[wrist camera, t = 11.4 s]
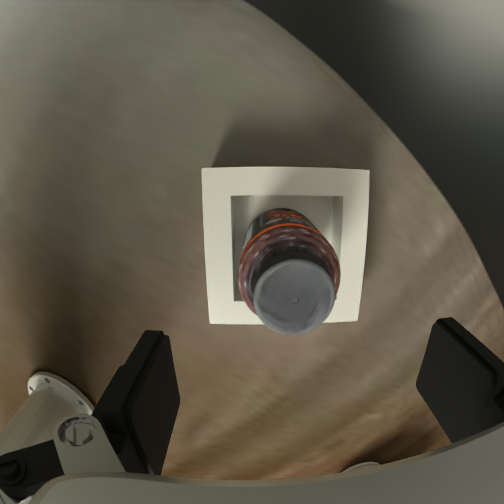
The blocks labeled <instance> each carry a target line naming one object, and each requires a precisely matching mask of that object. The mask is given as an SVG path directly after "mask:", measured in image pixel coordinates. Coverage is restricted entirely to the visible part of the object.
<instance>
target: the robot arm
mask: <svg viewBox="0 0 504 504" xmlns="http://www.w3.org/2000/svg"><path fill="white" fill-rule="evenodd" d="M416 387H417V390H418V391H419V393H420V394H421V396H422V397H423V399H424V400H425V402H426V403H427V405H428V407H429V408H430V410H431V411H432V413H433V414H434V416H435V417H436V419H437V420H438V422H439V423H440V425H441V427H442V428H443V430H444V431H445V433H446V434H447V436H448V438H449V439H450V441H451V442H452V444H450V445H447V446H444V447H441V448H438V449H435V450H432V451H429V452H426V453H423V454H420V455H416V456H413V457H409V458H406V459H402V460H398V461H395V462H391V463H386V464H382V465H378V466H373V467H369V468H364V469H358V470H353V471H347V472H341V473H335V474H328V475H320V476H312V477H302V478H290V479H273V480H211V479H194V478H182V477H172V476H160V475H161V472H162V468H163V464H164V460H165V456H166V453H167V449H168V445H169V442H170V438H171V434H172V430H173V427H174V423H175V420H176V416H177V412H178V409H179V405H180V395H179V390H178V385H177V380H176V374H175V369H174V363H173V357H172V351H171V345H170V339H169V336H168V335H164V333H163V331H154V330H145V332H144V333H143V335H142V336H141V338H140V340H139V341H138V343H137V344H136V346H135V348H134V349H133V351H132V353H131V354H130V356H129V358H128V359H127V361H126V363H125V364H124V365H122V366H120V367H119V368H118V370H117V372H116V373H115V375H114V376H113V378H112V380H111V381H110V383H109V385H108V386H107V388H106V390H105V391H104V393H103V395H102V397H101V398H100V400H99V402H98V403H97V405H96V407H94V406H93V404H92V403H91V402H90V401H89V399H88V398H87V397H86V396H85V395H84V394H83V393H82V392H81V391H80V390H78V389H77V388H76V387H75V386H74V385H72V384H71V383H69V382H68V381H66V380H65V379H63V378H61V377H59V376H57V375H55V374H52V373H49V372H42V371H41V372H36V373H35V374H33V375H32V377H31V378H30V379H29V381H28V391H29V395H30V396H29V397H28V398H27V399H26V400H25V402H24V403H23V404H22V405H21V407H20V408H19V409H18V410H17V411H16V413H15V414H14V415H13V416H12V418H11V419H10V420H9V422H8V423H7V424H6V425H5V427H4V428H3V429H2V431H1V432H0V504H504V362H502V361H501V360H500V359H499V358H498V357H497V356H496V355H495V354H494V353H493V352H491V351H490V350H489V349H488V348H487V347H486V346H485V345H484V344H483V343H481V342H480V341H479V340H478V339H477V338H476V337H475V336H473V335H472V334H471V333H470V332H469V331H468V330H466V329H465V328H464V327H463V326H462V325H461V324H459V323H458V322H457V321H456V320H455V319H453V318H452V317H448V318H441V319H438V320H437V321H436V323H435V324H433V326H432V329H431V333H430V337H429V341H428V345H427V348H426V352H425V355H424V359H423V362H422V365H421V368H420V372H419V375H418V378H417V381H416Z"/></svg>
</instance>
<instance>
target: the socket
mask: <svg viewBox="0 0 504 504" xmlns="http://www.w3.org/2000/svg"><path fill="white" fill-rule="evenodd" d="M369 176H370V170H360V169H342V168H318V167H220V168H202V200H203V225H204V245H205V263H206V279H207V294H208V308H209V320H210V324H264V323H263V322H262V321H261V320H260V318H259V317H258V316H257V315H255V314H254V313H253V312H252V311H251V310H250V309H249V308H248V306H247V305H246V304H245V302H244V300H243V298H242V296H241V294H240V290H239V286H238V266H239V261H240V257H241V253H242V248H243V244H244V239H245V235H246V233H247V230H248V228H249V226H250V225H251V223H252V222H253V221H254V220H255V218H257V217H258V216H259V215H260V214H262V213H264V212H266V211H268V210H271V209H276V208H288V209H292V210H295V211H297V212H299V213H301V214H303V215H304V216H305V217H307V218H308V219H309V220H310V221H311V222H312V223H313V225H314V226H315V227H316V228H317V229H318V231H319V232H320V233H321V234H322V235H323V236H324V237H325V238H326V239H327V241H328V242H329V243H330V244H331V246H332V247H333V249H334V250H335V252H336V255H337V257H338V260H339V264H340V271H341V278H340V285H339V289H338V292H337V294H336V296H335V302H334V306H333V308H332V311H331V313H330V314H329V316H328V317H327V319H326V320H325V321H324V322H323V323H326V322H346V321H357V319H358V312H359V305H360V297H361V289H362V281H363V272H364V262H365V251H366V239H367V224H368V206H369Z"/></svg>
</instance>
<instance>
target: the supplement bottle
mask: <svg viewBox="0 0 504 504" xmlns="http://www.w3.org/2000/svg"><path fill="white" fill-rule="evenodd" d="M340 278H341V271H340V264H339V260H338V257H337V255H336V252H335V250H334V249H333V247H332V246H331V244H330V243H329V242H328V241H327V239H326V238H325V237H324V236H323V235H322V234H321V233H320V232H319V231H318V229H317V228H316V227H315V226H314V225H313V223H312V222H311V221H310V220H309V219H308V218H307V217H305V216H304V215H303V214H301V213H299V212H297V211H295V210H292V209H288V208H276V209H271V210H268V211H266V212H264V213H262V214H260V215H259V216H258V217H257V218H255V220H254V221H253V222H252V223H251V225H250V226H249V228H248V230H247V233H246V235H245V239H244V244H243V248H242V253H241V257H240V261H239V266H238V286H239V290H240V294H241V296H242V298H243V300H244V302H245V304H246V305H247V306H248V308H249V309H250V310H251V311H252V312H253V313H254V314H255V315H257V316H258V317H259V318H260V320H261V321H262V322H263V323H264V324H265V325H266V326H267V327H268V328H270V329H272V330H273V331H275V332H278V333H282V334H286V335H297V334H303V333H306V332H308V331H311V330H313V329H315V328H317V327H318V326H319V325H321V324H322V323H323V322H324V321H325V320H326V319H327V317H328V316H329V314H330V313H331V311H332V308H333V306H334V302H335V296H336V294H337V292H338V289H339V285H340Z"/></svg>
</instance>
